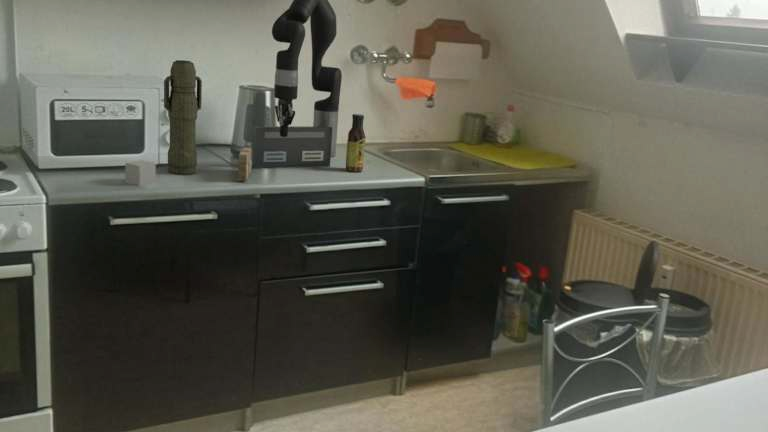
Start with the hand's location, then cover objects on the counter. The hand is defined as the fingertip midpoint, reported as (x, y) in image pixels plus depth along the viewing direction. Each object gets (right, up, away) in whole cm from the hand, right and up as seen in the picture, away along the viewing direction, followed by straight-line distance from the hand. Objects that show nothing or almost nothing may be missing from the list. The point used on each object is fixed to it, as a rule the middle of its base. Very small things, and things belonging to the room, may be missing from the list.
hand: (283, 136), depth 243 cm
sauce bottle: (+23, -11, +16) cm, 30 cm away
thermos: (-32, -12, -7) cm, 35 cm away
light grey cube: (-39, -17, -25) cm, 49 cm away
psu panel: (+1, -9, +14) cm, 17 cm away
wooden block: (-12, -13, -6) cm, 19 cm away
